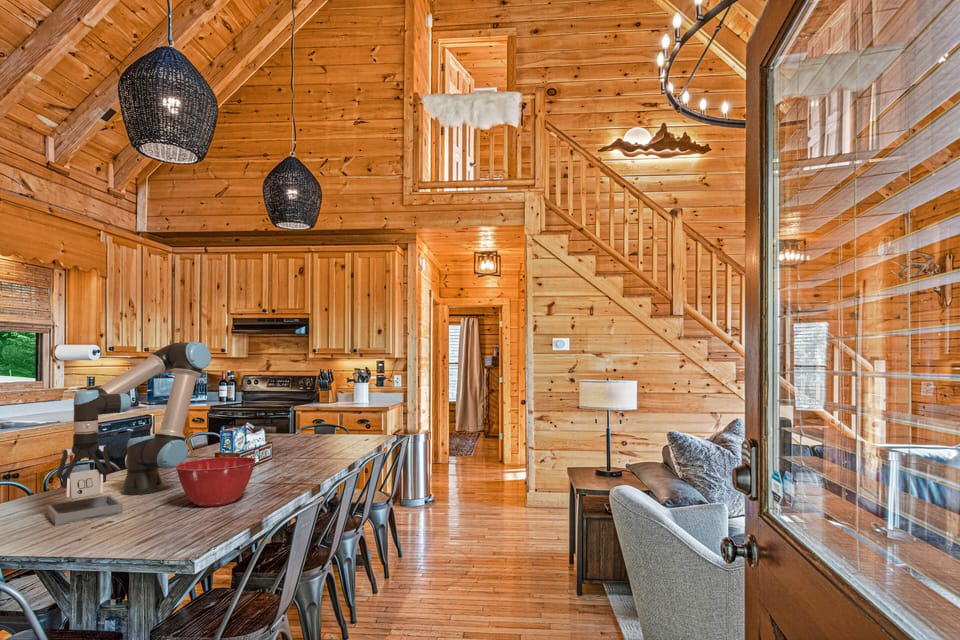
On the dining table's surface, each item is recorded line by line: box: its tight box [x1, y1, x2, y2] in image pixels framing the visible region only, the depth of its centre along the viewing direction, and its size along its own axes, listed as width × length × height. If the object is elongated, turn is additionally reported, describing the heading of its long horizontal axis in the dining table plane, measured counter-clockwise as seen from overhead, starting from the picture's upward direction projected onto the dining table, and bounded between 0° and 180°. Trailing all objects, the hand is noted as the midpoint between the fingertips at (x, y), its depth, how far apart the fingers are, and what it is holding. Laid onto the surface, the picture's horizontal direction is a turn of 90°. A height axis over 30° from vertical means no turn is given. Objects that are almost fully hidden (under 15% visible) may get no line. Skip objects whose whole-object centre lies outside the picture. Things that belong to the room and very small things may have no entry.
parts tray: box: [46, 494, 124, 526], centre depth 214 cm, size 20×20×4 cm
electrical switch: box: [68, 468, 102, 500], centre depth 215 cm, size 9×5×9 cm, turn 141°
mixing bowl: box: [175, 456, 257, 508], centre depth 228 cm, size 28×28×16 cm
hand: (84, 494), depth 214 cm, fingers closed on electrical switch, 9 cm apart
